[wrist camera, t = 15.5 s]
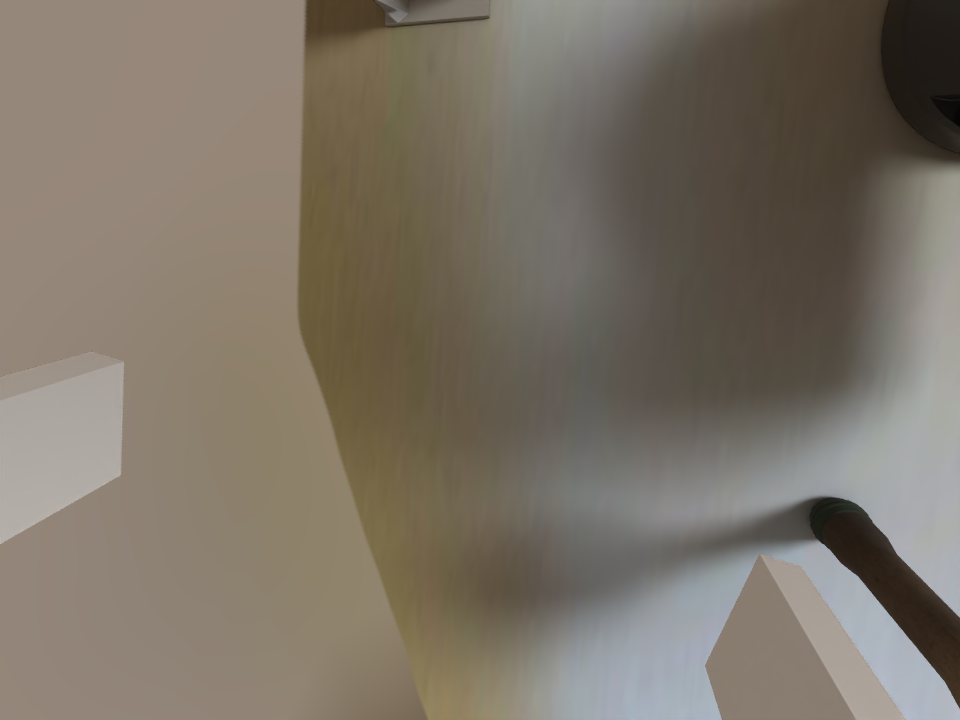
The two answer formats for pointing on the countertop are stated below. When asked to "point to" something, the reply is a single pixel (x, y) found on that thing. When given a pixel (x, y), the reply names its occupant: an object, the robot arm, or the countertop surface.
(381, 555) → the countertop surface
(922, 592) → the stick grenade
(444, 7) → the skyscraper
